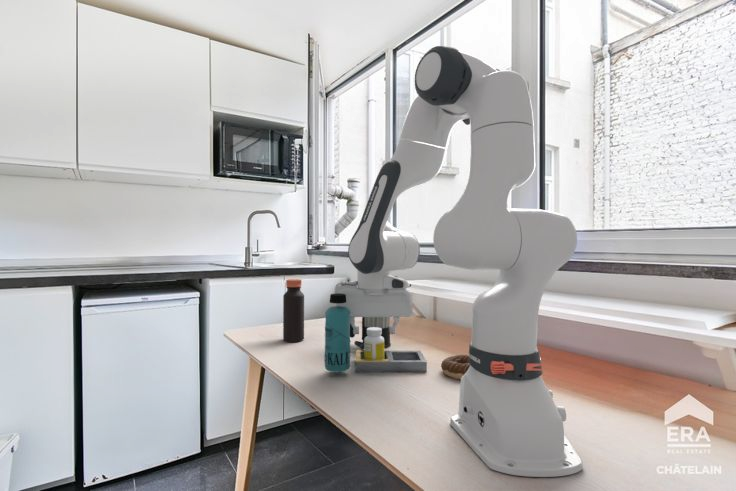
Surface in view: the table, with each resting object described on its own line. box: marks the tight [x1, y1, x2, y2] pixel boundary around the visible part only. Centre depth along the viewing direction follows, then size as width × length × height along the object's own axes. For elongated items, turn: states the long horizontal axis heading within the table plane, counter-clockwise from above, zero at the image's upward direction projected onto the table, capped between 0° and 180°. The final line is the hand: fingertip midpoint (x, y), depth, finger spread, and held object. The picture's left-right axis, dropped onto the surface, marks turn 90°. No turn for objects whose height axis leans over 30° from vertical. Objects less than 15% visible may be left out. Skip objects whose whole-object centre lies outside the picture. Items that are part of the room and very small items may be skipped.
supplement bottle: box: [363, 327, 385, 359], centre depth 100 cm, size 5×5×10 cm
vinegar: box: [282, 278, 305, 343], centre depth 125 cm, size 7×7×20 cm
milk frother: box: [350, 317, 392, 350], centre depth 117 cm, size 14×16×15 cm
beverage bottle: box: [323, 293, 351, 373], centre depth 94 cm, size 6×7×20 cm
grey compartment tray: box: [355, 349, 428, 373], centre depth 101 cm, size 10×18×3 cm, turn 91°
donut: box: [440, 354, 470, 381], centre depth 94 cm, size 11×11×4 cm
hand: (374, 333), depth 100 cm, fingers open, 8 cm apart
